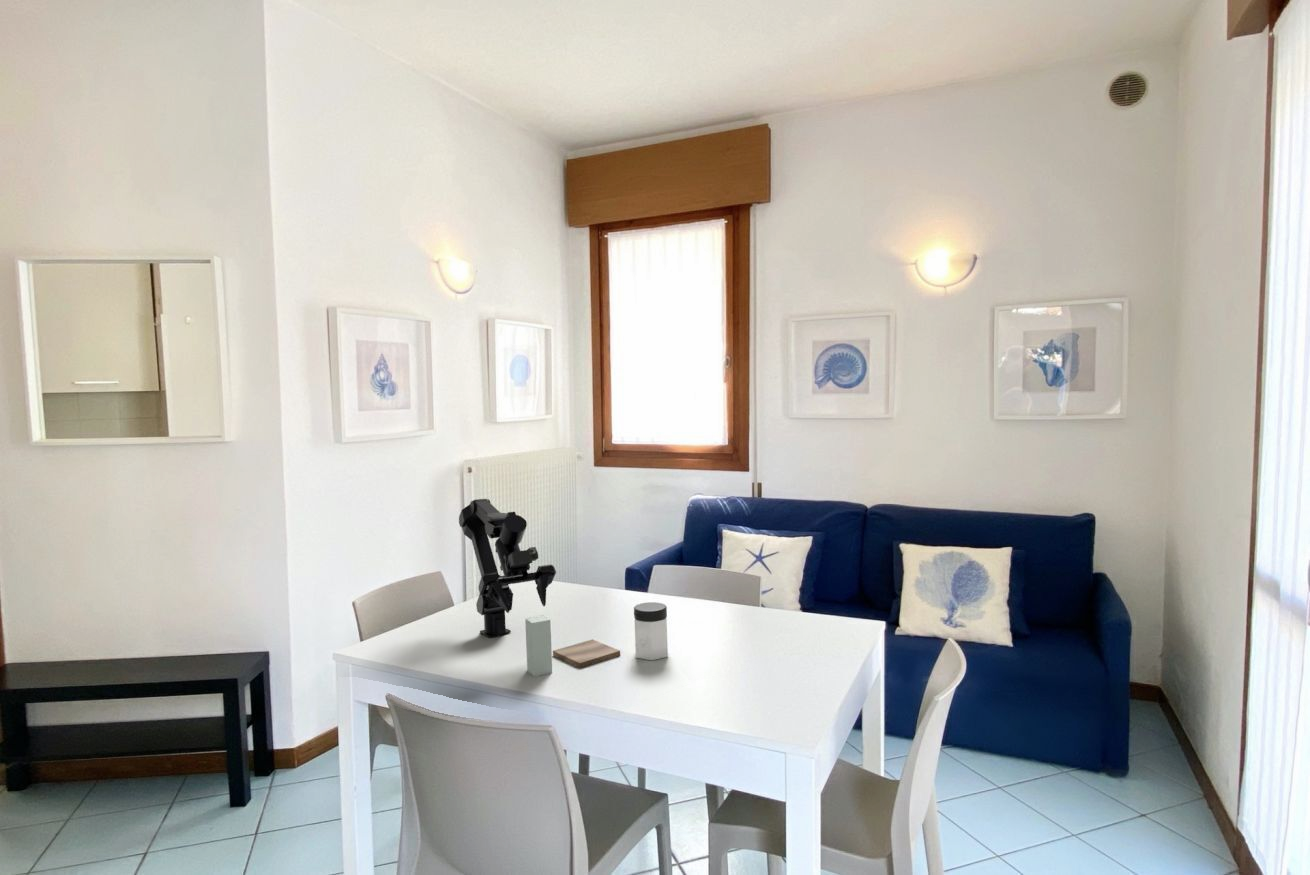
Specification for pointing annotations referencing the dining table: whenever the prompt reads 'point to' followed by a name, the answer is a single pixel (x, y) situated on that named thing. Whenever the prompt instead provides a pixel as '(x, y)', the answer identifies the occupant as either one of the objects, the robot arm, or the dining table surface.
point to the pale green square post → (538, 645)
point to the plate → (586, 653)
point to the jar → (651, 630)
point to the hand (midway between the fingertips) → (526, 608)
